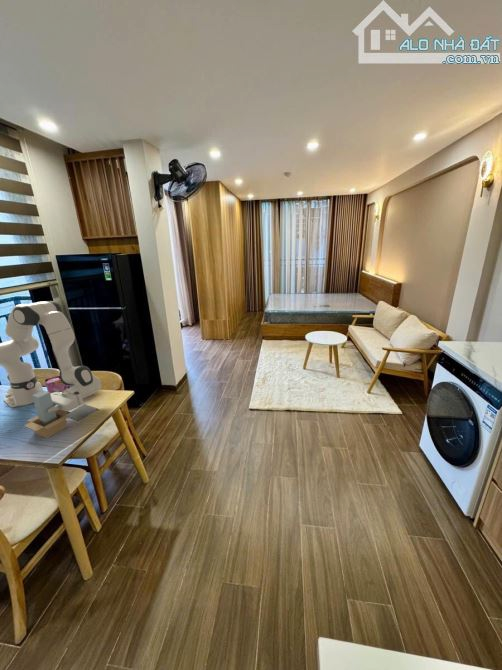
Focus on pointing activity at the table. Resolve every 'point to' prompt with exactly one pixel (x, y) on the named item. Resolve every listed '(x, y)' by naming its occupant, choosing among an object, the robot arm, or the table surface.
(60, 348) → the robot arm
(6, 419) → the table surface
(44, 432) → the carton
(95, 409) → the mat
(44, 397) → the pale upright canister
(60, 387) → the pink multipack
